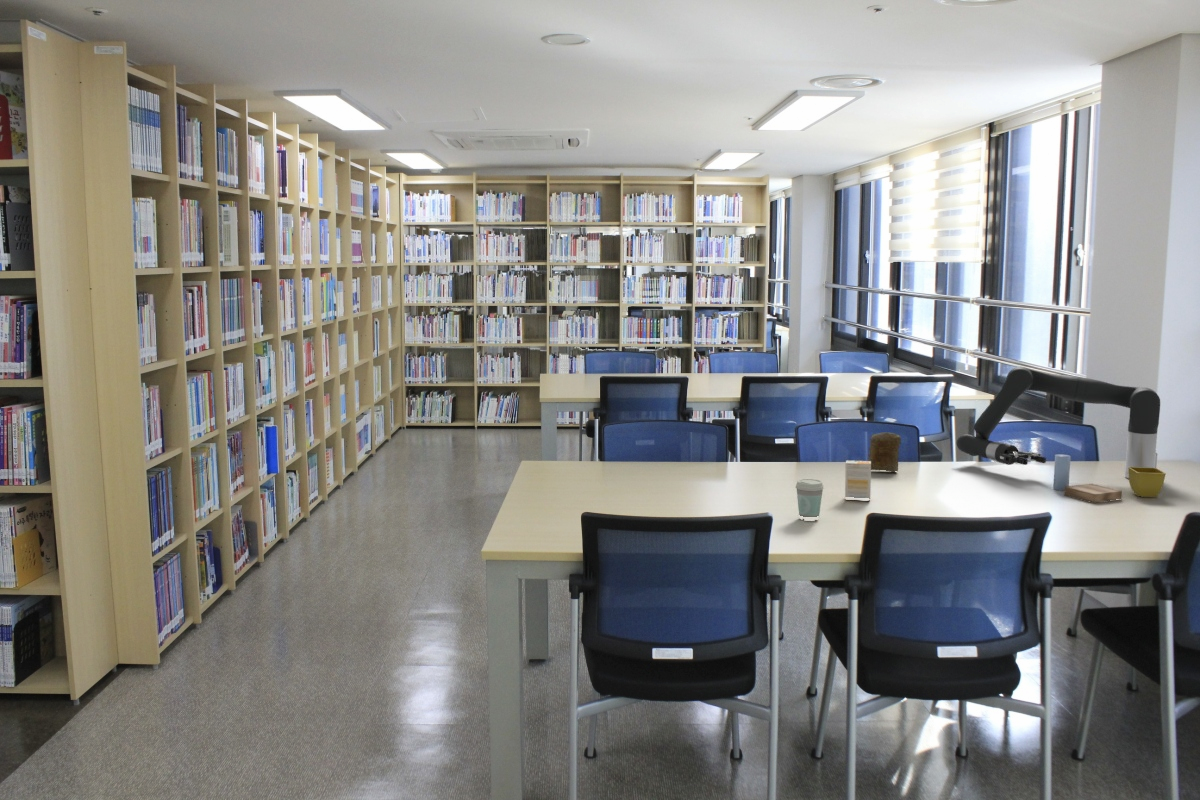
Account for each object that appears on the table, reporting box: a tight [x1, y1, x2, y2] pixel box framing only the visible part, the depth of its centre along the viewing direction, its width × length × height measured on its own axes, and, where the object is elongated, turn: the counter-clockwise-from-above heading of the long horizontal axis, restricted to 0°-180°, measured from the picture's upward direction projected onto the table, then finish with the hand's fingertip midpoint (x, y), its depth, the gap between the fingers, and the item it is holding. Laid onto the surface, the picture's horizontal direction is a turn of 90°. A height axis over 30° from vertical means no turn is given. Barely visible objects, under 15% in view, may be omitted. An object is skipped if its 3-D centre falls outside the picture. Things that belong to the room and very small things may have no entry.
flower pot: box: [1128, 467, 1166, 498], centre depth 306 cm, size 9×9×9 cm
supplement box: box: [844, 459, 872, 500], centre depth 305 cm, size 8×5×13 cm, turn 71°
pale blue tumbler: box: [1052, 453, 1071, 492], centre depth 317 cm, size 5×5×12 cm
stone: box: [868, 431, 902, 473], centre depth 348 cm, size 11×9×15 cm
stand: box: [1063, 483, 1123, 504], centre depth 305 cm, size 12×12×3 cm
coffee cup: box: [795, 478, 825, 517], centre depth 281 cm, size 8×9×12 cm
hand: (1036, 461), depth 327 cm, fingers open, 8 cm apart
